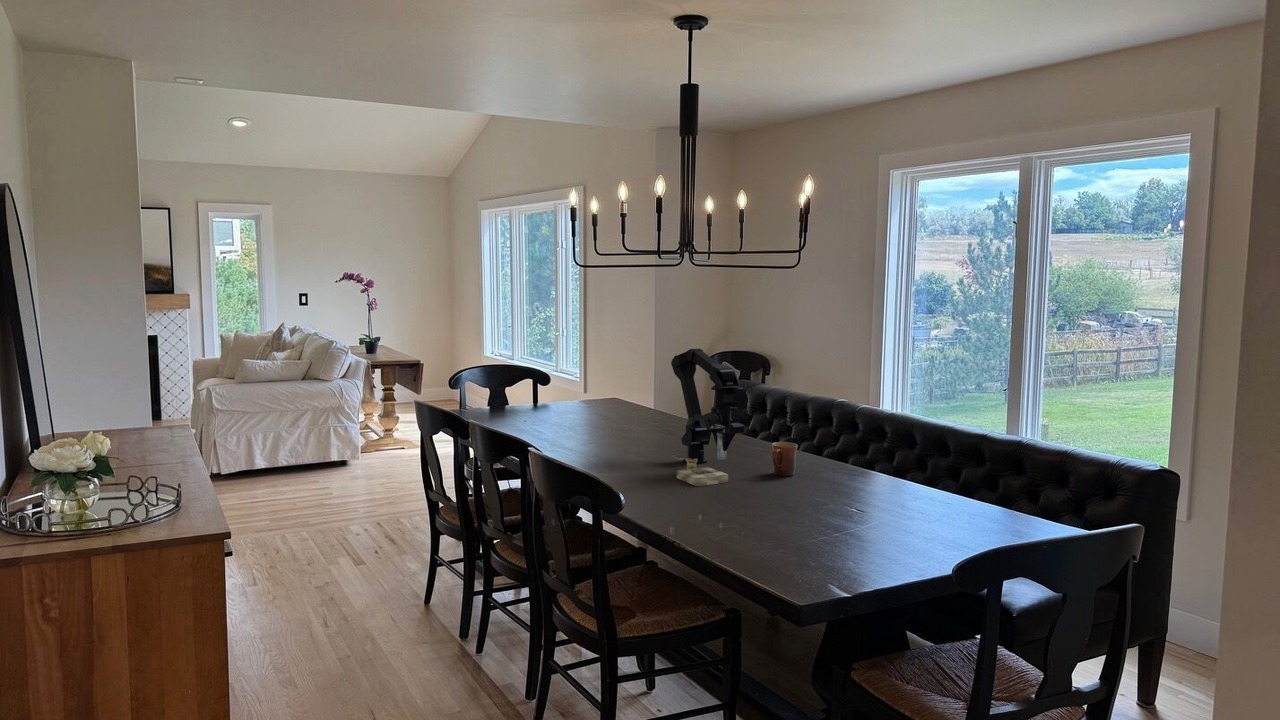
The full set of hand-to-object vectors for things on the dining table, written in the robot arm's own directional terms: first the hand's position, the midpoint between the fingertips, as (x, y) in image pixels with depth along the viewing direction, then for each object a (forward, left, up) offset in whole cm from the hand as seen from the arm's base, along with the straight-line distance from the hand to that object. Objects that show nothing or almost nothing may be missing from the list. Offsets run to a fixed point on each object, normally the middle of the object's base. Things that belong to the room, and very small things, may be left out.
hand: (721, 449), depth 297 cm
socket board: (+8, -13, -7) cm, 17 cm away
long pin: (0, 0, -3) cm, 3 cm away
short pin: (-3, -10, -7) cm, 13 cm away
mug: (+14, +15, -8) cm, 22 cm away
